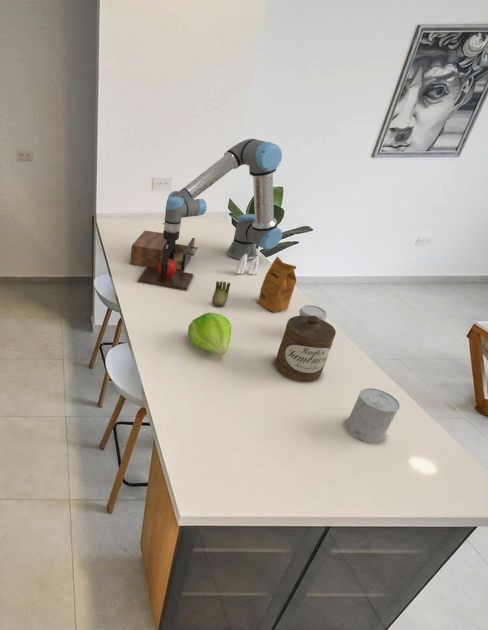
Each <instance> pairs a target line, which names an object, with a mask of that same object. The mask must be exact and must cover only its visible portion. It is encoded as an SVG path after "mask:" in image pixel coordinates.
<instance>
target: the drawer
mask: <svg viewBox="0 0 488 630" xmlns="http://www.w3.org/2000/svg"><path fill="white" fill-rule="evenodd" d="M195 240H196V238H195V237H192V238H191V240H190V241H189V243H188V245H186V244H180V243H176V249H175V252H176V254H174V260H173V261H174V262H175V264H176V270H178V271H180V272H185V270H186V269H187V266H188V264H189V262H190V260H191V259H192V257H194V256H195V255H196V253H197V251H198V249H199V247H198V246H195ZM163 252H164V248H163V249H162V252H161V261H162V257H163Z"/></svg>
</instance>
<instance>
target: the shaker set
mask: <svg viewBox="0 0 488 630" xmlns="http://www.w3.org/2000/svg"><path fill="white" fill-rule="evenodd" d="M247 263H248V260H247V254H245V255H244V256H243V257H242V258H241V259H240V260H239V261H238V263H237V265H236V268H235V273H236V275H238V274H239V275H240V274H241V275H242V274H244V273H245V271H246V267H247ZM259 265H260V255H257V256H256V257H255V258H254V259H252V260H251V262H250V263H249V266H248V269H247V271H246V272H247V274H248V275H252V276H253V275H256V273H257V270H258V268H259Z"/></svg>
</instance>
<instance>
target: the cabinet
mask: <svg viewBox="0 0 488 630" xmlns="http://www.w3.org/2000/svg"><path fill="white" fill-rule="evenodd" d="M166 242H167V240H166V239H164V238H163V232H160V231H159V232H158V231H151V230H143V232H141V234H140V235H139V236H138V237H137V239H136V240H135V241H134V242H133V243H132V245H131V250H130V251H131V252H130V265H132V266H138V267H144V268H147V266H150V267H156V268H158V265H159V263H160V261H161V252H162V249H163V248H164V245H165V243H166Z"/></svg>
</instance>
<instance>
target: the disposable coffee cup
mask: <svg viewBox="0 0 488 630" xmlns="http://www.w3.org/2000/svg"><path fill="white" fill-rule="evenodd" d="M298 313H299V315H298V316H316V317H318V318H319V319H321V320H323V321H325V320H326V319H327V317H328V315H327V312H326V310H325V309H324V308H322V307H320V306H317V305H311V304H305V305H302V306H301V308H299V310H298Z"/></svg>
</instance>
